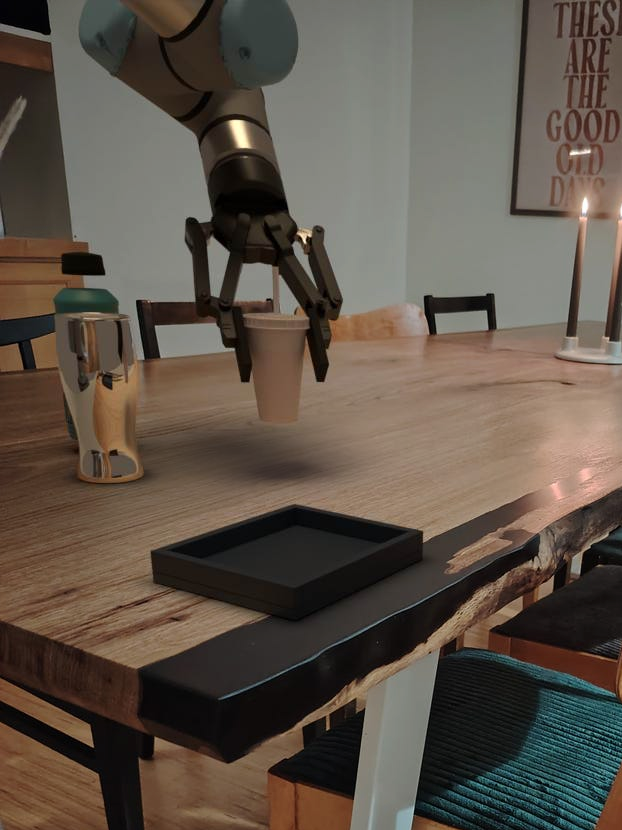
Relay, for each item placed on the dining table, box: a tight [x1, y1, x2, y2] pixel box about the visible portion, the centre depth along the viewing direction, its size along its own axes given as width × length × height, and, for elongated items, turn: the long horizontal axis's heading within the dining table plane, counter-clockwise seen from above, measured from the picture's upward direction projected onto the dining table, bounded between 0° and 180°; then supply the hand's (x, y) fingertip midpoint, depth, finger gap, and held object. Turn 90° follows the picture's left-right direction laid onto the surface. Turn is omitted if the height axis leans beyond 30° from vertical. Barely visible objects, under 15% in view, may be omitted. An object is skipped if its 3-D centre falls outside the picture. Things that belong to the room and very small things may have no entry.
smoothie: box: [242, 266, 310, 424], centre depth 88 cm, size 6×6×14 cm
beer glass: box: [53, 312, 145, 484], centre depth 88 cm, size 7×7×15 cm
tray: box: [150, 503, 424, 622], centre depth 68 cm, size 16×13×2 cm
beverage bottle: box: [52, 251, 120, 441], centre depth 97 cm, size 6×7×20 cm
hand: (285, 373), depth 86 cm, fingers closed on smoothie, 6 cm apart
